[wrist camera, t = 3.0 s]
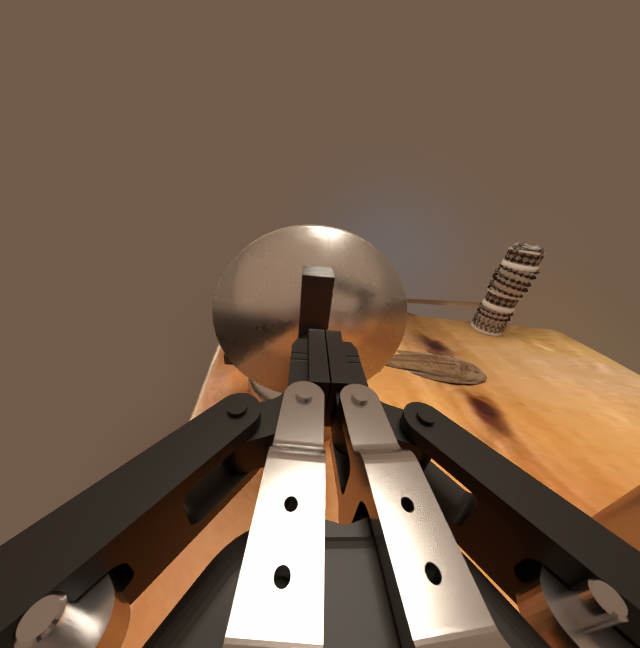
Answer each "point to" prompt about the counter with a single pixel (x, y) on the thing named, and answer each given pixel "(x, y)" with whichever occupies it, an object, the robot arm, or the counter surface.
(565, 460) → the counter surface
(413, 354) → the fish fossil
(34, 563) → the robot arm
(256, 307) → the cooker lid
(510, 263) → the decorative candle
